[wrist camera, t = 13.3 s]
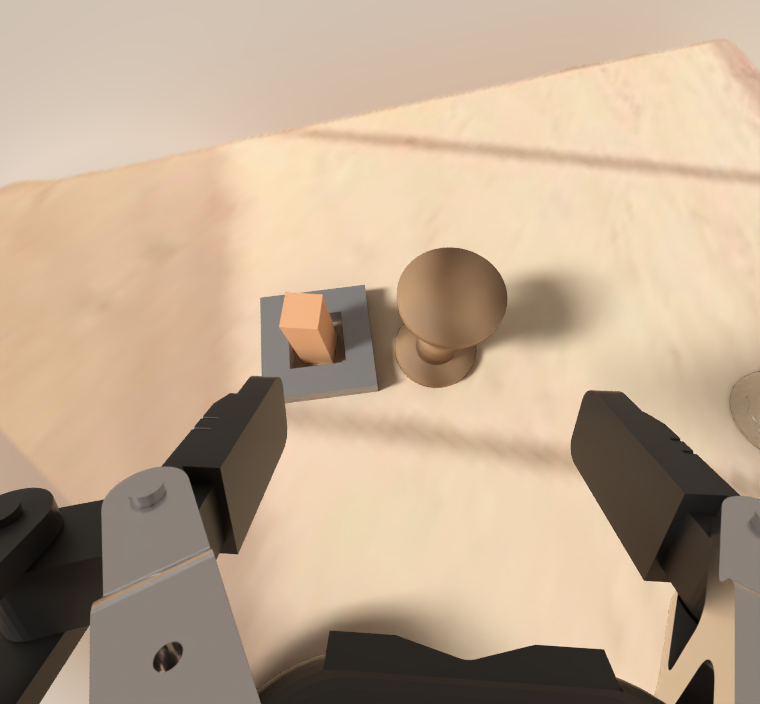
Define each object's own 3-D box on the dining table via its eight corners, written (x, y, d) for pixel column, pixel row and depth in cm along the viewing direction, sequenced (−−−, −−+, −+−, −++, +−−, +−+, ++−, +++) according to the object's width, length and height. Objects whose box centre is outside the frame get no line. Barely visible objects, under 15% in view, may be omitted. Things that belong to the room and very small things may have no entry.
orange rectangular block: (337, 336, 44) (322, 294, 35) (333, 364, 43) (317, 329, 34) (307, 334, 45) (285, 292, 35) (303, 362, 43) (278, 327, 34)
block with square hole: (365, 295, 46) (364, 284, 44) (378, 391, 42) (377, 385, 40) (267, 307, 46) (260, 297, 44) (269, 405, 42) (262, 400, 39)
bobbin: (465, 309, 45) (493, 241, 33) (482, 382, 42) (519, 337, 30) (390, 318, 45) (390, 254, 33) (401, 392, 42) (405, 351, 30)
